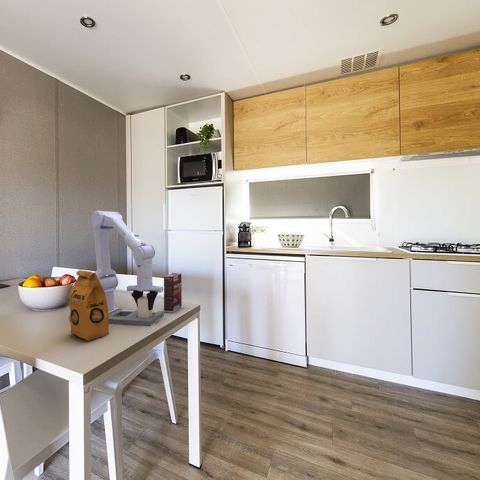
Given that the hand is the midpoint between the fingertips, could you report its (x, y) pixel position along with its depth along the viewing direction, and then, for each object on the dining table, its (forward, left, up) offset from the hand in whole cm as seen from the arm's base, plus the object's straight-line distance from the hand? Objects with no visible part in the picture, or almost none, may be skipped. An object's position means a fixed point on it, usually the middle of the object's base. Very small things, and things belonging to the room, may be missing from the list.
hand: (145, 309), depth 96 cm
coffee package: (-12, -15, -4) cm, 20 cm away
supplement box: (+6, +13, -4) cm, 15 cm away
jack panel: (-5, 0, -4) cm, 7 cm away
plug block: (0, 0, -3) cm, 3 cm away
